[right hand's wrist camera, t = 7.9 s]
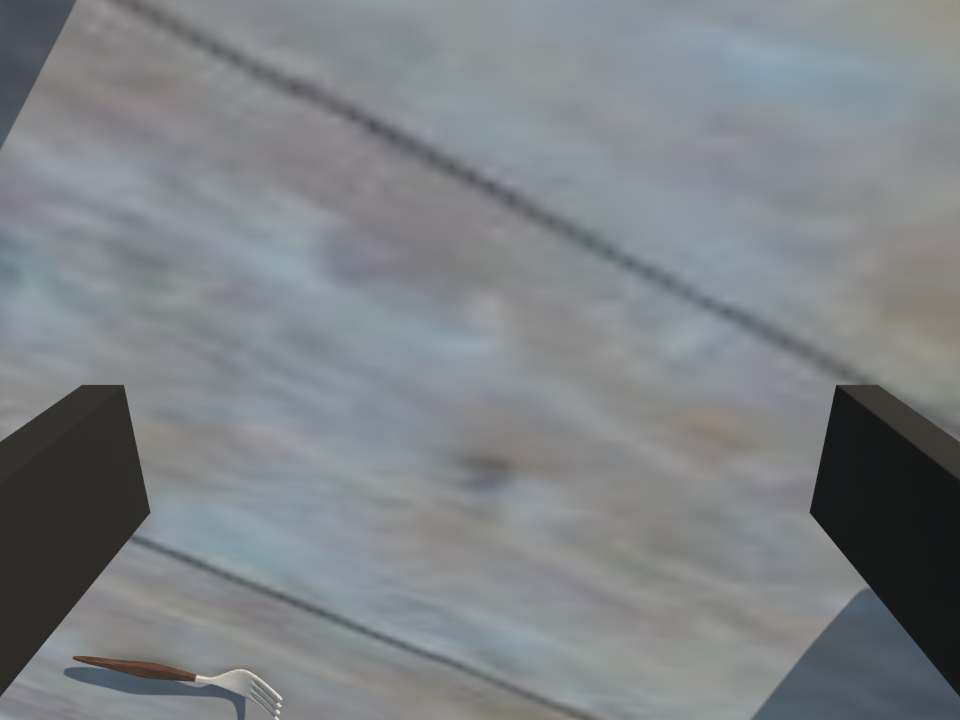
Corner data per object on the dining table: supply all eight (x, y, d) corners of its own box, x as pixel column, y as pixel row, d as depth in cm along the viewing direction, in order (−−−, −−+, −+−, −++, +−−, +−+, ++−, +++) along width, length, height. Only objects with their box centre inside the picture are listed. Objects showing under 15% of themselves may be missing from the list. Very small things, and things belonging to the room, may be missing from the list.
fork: (77, 638, 50) (61, 659, 48) (289, 676, 51) (282, 697, 49) (76, 665, 50) (61, 686, 49) (285, 701, 52) (278, 723, 50)
